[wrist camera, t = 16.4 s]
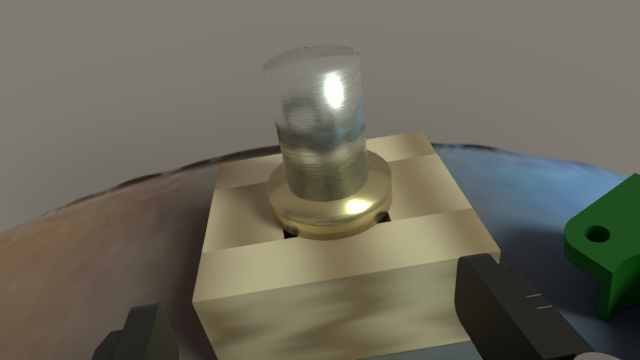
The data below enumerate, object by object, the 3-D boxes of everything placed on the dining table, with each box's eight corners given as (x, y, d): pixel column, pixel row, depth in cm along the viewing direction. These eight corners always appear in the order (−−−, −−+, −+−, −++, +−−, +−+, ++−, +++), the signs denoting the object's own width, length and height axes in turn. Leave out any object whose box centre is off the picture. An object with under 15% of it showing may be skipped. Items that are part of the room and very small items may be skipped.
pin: (292, 326, 24) (231, 101, 17) (288, 246, 30) (242, 50, 22) (408, 306, 24) (402, 73, 17) (383, 230, 30) (369, 29, 22)
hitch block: (227, 381, 22) (192, 302, 19) (241, 233, 32) (219, 164, 29) (488, 337, 22) (500, 250, 19) (421, 203, 32) (421, 130, 29)
